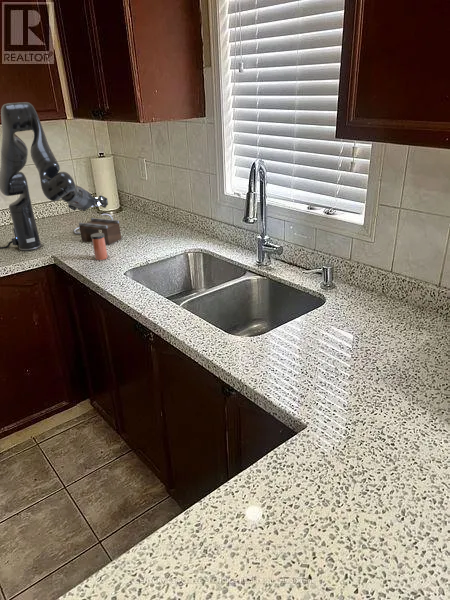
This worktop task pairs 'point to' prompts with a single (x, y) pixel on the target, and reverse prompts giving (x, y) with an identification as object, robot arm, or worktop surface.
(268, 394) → the worktop surface
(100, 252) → the spice jar
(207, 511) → the worktop surface
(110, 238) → the rail rack
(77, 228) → the hook
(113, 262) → the worktop surface
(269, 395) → the worktop surface
